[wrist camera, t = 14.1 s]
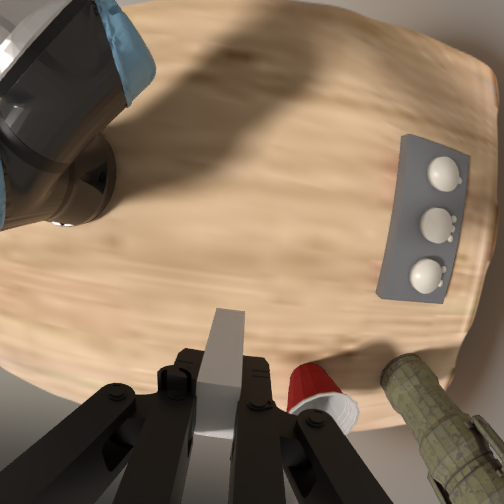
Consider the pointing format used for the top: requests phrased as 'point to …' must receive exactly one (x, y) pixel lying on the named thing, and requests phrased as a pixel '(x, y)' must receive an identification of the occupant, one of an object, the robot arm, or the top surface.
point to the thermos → (446, 435)
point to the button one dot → (443, 174)
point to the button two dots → (425, 275)
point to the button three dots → (436, 225)
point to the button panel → (408, 221)
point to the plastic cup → (320, 396)
